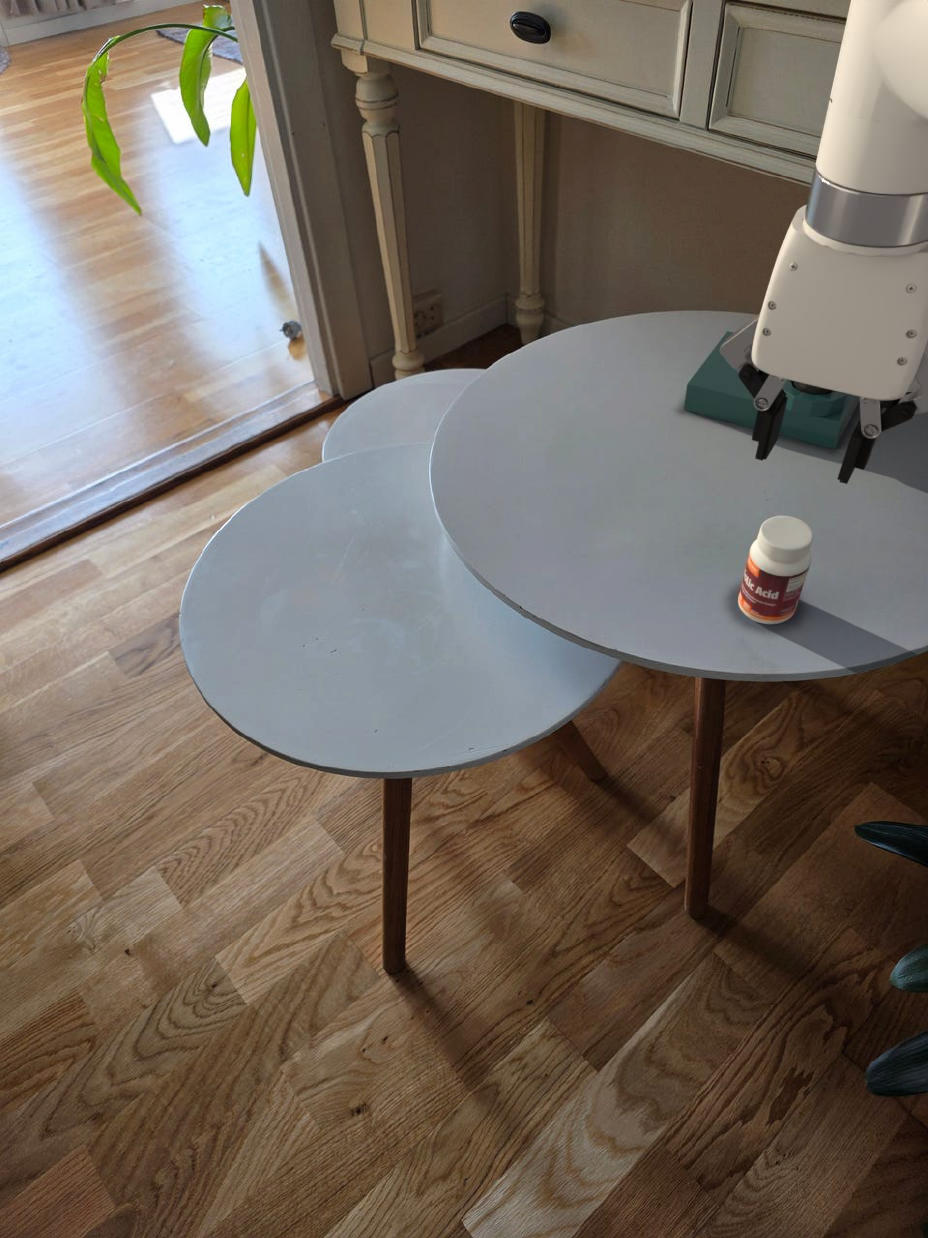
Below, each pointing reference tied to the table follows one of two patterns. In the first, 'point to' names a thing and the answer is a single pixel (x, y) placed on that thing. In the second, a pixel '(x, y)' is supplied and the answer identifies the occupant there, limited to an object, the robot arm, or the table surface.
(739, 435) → the table surface
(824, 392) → the dark grey push button
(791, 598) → the pill bottle
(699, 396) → the teal rectangular block
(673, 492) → the table surface
